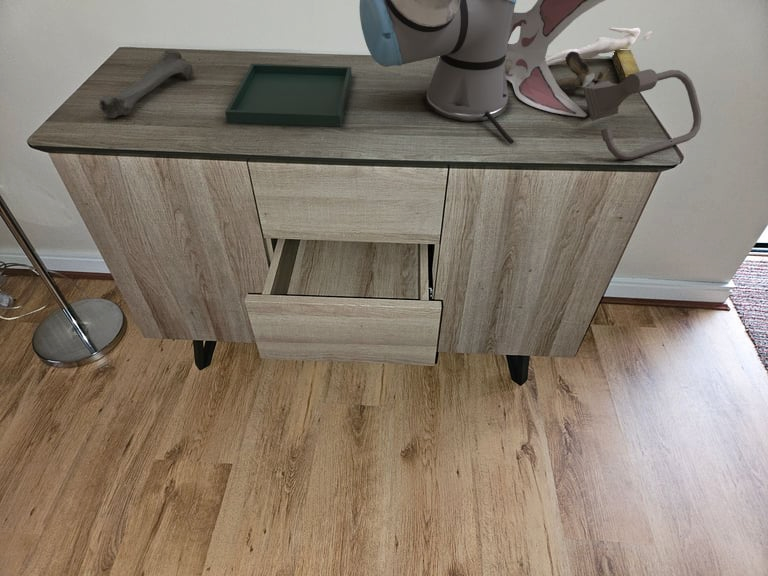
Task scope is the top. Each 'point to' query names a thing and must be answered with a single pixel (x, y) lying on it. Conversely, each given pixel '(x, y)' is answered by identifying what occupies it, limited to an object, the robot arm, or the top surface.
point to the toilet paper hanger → (610, 96)
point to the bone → (146, 83)
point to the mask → (542, 53)
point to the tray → (291, 95)
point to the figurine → (602, 45)
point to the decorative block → (624, 63)
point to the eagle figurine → (579, 73)
